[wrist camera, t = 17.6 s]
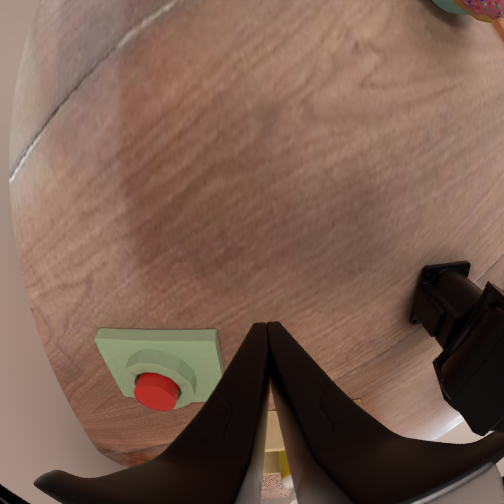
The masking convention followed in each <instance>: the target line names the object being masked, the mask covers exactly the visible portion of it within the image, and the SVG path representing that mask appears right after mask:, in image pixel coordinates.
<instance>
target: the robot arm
mask: <svg viewBox="0 0 504 504" xmlns="http://www.w3.org/2000/svg"><path fill="white" fill-rule="evenodd" d="M427 270H428V271H427ZM469 270H470V263H469V262H468V261H461V262H453V263H445V264H437V265H428V266H425V267H424V268H423V269H422V272H421V277H420V281H419V286H418V290H417V294H416V298H415V301H414V305H413V309H412V312H411V316H410V319H409V322H410V323H411V325H416V324H422V325H423V327H424V328H425V329H426V331H427V332H428V333H429V335H430V336H431V337H435V339H436V340H437V342H438V343H439V344H440V346H441V347H442V349H443V351H442V352H441V354H440V355H439V356H438V357H437V358H436V359H435V360H434V361H433V366H434V369H435V372H436V375H437V378H438V381H439V385H440V388H441V391H442V394H443V398H444V400H445V401H446V402H447V403H448V404H449V405H450V406H451V407H452V408H454V409H455V410H457V411H458V412H459V413H460V414H461V415H462V416H463V418H464V419H465V421H466V422H467V424H468V425H469V427H470V429H471V430H472V432H474V433H476V434H478V435H480V436H485V434H487V433H488V432H489V431H495V432H493V433H491V434H489V435H487V436H486V437H484V438H482V439H481V440H478V441H476V442H473V443H467V444H452V443H442V442H433V441H425V440H418V439H412V438H406V437H403V436H400V435H398V434H396V433H394V432H392V431H391V430H389V429H388V428H386V427H385V426H384V425H382V424H381V423H380V422H379V421H377V420H376V419H375V418H373V417H372V416H371V415H370V414H368V413H367V412H366V411H365V410H363V409H362V408H361V407H360V406H358V405H357V404H356V403H355V402H354V401H353V400H351V399H350V398H349V397H348V396H347V395H346V394H345V393H344V392H343V391H342V390H341V389H340V388H339V387H338V386H337V385H336V384H335V383H334V382H333V381H332V380H331V378H330V377H329V376H328V375H327V374H326V373H325V372H324V371H323V370H322V369H321V368H320V366H319V365H318V364H317V363H316V362H315V361H314V360H313V359H312V358H311V357H310V356H309V354H308V353H307V352H306V351H305V350H304V349H303V348H302V347H301V346H300V344H299V343H298V342H297V341H296V340H295V339H294V338H293V337H292V336H291V334H290V333H289V332H288V331H287V330H286V329H285V328H284V327H283V325H282V324H281V323H280V322H278V321H275V322H267V325H266V323H265V322H261V323H254V324H253V325H252V327H251V329H250V330H249V332H248V334H247V335H246V337H245V339H244V341H243V342H242V344H241V346H240V347H239V349H238V351H237V352H236V354H235V356H234V357H233V359H232V361H231V362H230V364H229V366H228V367H227V369H226V371H225V372H224V374H223V376H222V377H221V379H220V380H219V382H218V384H217V385H216V387H215V389H214V390H213V392H212V393H211V395H210V396H209V398H208V400H207V401H206V402H205V404H204V405H203V407H202V408H201V410H200V411H199V412H198V413H197V415H196V416H195V417H194V418H193V419H192V421H191V422H190V423H189V424H188V425H187V426H186V428H185V429H184V430H183V431H182V432H181V433H180V434H179V435H178V437H177V438H176V439H175V440H174V441H173V442H172V443H171V444H170V445H169V446H168V447H167V448H166V450H164V451H163V452H162V453H161V454H160V455H158V456H157V457H155V458H153V459H152V460H149V461H147V462H144V463H141V464H139V465H136V466H133V467H130V468H127V469H124V470H121V471H119V472H115V473H112V474H109V475H106V476H102V477H97V478H82V477H78V476H74V475H72V474H69V473H67V472H64V471H61V470H53V471H51V472H48V473H45V474H43V475H42V476H40V477H39V478H37V479H36V481H35V482H34V485H35V486H36V487H37V488H38V489H40V490H41V491H43V492H44V493H46V494H47V495H49V496H51V497H52V498H54V499H56V500H57V501H59V502H61V503H62V504H260V496H261V487H262V477H263V467H264V456H265V444H266V432H267V420H268V407H269V393H270V384H271V389H272V394H273V398H274V403H275V407H276V412H277V416H278V421H279V425H280V429H281V434H282V438H283V443H284V447H285V451H286V456H287V460H288V464H289V469H290V473H291V477H292V481H293V486H294V490H295V493H296V499H297V503H298V504H504V476H503V477H501V475H500V472H499V470H498V468H497V466H496V463H497V462H498V461H499V460H501V459H502V458H503V457H504V291H503V290H501V289H500V288H498V287H497V286H495V285H494V284H492V283H490V282H489V281H488V282H487V284H486V285H485V289H484V291H482V290H481V289H480V288H479V287H477V286H476V285H475V284H474V283H473V282H472V281H471V280H469V279H468V278H467V277H468V274H469ZM426 272H427V273H426ZM0 504H30V503H28V502H27V501H25V500H23V499H22V498H20V497H19V496H17V495H16V494H14V493H12V492H11V491H9V490H8V489H7V488H5V487H4V486H2V485H1V484H0Z"/></svg>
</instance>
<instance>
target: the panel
mask: <svg viewBox="0 0 504 504" xmlns="http://www.w3.org/2000/svg"><path fill="white" fill-rule="evenodd" d="M94 340H95V342H96V344H97V346H98V348H99V350H100V352H101V354H102V356H103V358H104V360H105V362H106V364H107V366H108V368H109V370H110V372H111V374H112V375H113V377H114V379H115V381H116V383H117V384H118V386H119V388H120V390H121V391H122V393H123V395H124V396H126V397H135V396H134V389H135V386H136V383H137V381H138V378H139V376H140V375H141V374H142V373H145V372H151V373H158V374H161V375H163V376H166V377H168V378H170V379H172V380H173V381H174V382H175V383H177V385H178V387H179V393H178V397H177V402H176V406H175V407H174V408H173V409H177V408H180V407H183V406H186V405H189V404H190V402H206V401H207V400H208V398H209V396H210V395H211V393H212V392H213V390H214V389H215V387H216V385H217V384H218V382H219V380H220V379H221V377H222V376H223V374H224V366H223V361H222V356H221V351H220V345H219V340H218V334H217V329H195V330H143V329H112V328H100V329H99V330H98V332H97V334H96V335H95V337H94Z"/></svg>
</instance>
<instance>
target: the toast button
mask: <svg viewBox="0 0 504 504" xmlns="http://www.w3.org/2000/svg"><path fill="white" fill-rule="evenodd" d="M178 393H179V387H178V385H177V383H175V382H174V381H173V380H172V379H170V378H168V377H166V376H163V375H161V374H158V373H151V372H145V373H142V374H141V375H140V376H139V378H138V381H137V383H136V386H135V389H134V396H135V398H136V399H137V400H138V401H139V402H140V403H141V404H143V405H144V406H146V407H148V408H151V409H154V410H158V411H168V410H171V409H173V408H174V407H175V406H176V402H177V397H178Z"/></svg>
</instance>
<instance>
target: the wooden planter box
mask: <svg viewBox="0 0 504 504" xmlns="http://www.w3.org/2000/svg"><path fill="white" fill-rule="evenodd" d="M353 401H354V402H355V403H356V404H357V405H358V406H360V407H361V408H362V409H363V410H364V407H363V404H362V401H361V399H356V400H353ZM278 451H285V447H284V443H283V438H282V434H281V429H280V425H279V421H278V416H277V412H276V411H268V420H267V432H266V444H265V456H264V467H263V475H277V474H281V472H280V462H279V452H278Z"/></svg>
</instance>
